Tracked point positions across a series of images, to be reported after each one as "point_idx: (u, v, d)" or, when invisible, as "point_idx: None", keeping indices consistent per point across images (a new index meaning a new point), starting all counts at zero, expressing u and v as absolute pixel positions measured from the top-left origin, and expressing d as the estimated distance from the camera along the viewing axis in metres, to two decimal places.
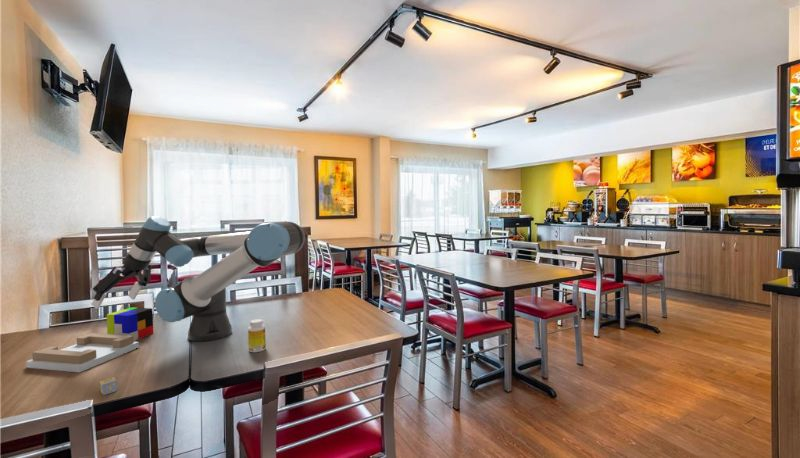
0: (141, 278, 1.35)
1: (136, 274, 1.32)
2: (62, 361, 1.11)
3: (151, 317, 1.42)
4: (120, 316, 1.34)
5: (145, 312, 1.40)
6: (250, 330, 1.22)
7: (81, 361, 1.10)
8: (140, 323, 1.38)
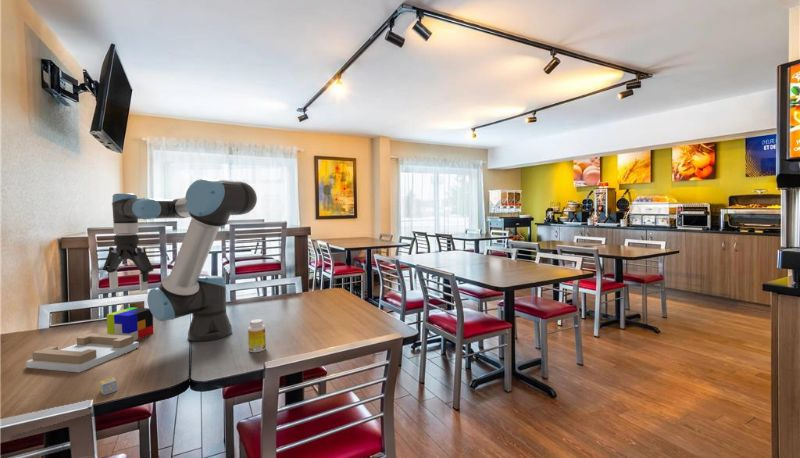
0: (135, 263, 1.36)
1: None
2: (62, 361, 1.11)
3: (151, 317, 1.42)
4: (120, 316, 1.34)
5: (145, 312, 1.40)
6: (250, 330, 1.22)
7: (81, 361, 1.10)
8: (140, 323, 1.38)
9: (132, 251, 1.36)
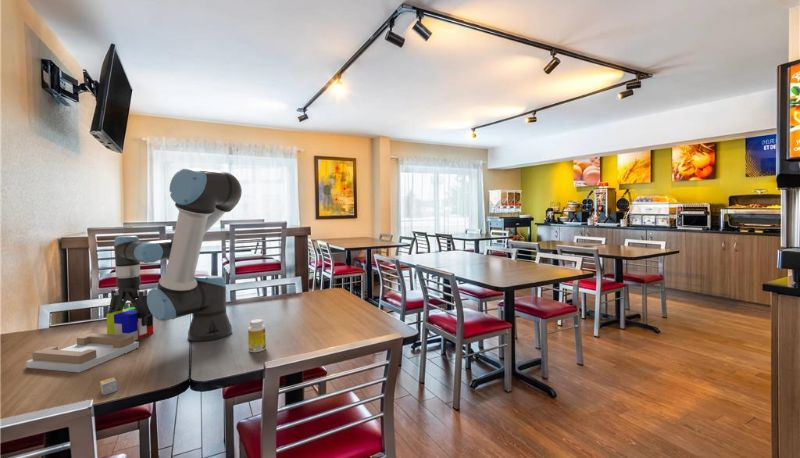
0: (135, 306, 1.37)
1: None
2: (62, 361, 1.11)
3: (151, 317, 1.42)
4: (120, 315, 1.34)
5: None
6: (250, 330, 1.22)
7: (81, 361, 1.10)
8: None
9: (134, 293, 1.37)
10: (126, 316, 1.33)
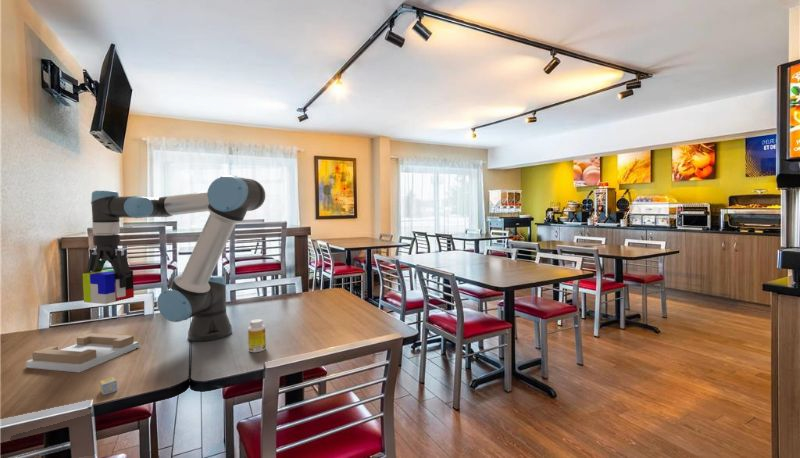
0: (113, 266, 1.27)
1: None
2: (62, 361, 1.11)
3: (131, 279, 1.33)
4: (96, 275, 1.24)
5: None
6: (250, 330, 1.22)
7: (81, 361, 1.10)
8: None
9: (112, 252, 1.27)
10: (102, 276, 1.23)
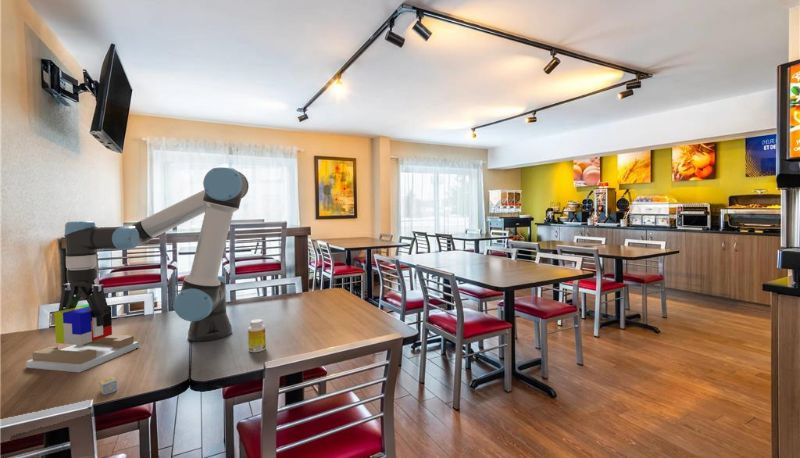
0: (89, 303, 1.17)
1: None
2: (62, 361, 1.11)
3: (109, 316, 1.23)
4: (69, 314, 1.14)
5: None
6: (250, 330, 1.22)
7: (81, 361, 1.10)
8: None
9: (88, 288, 1.17)
10: (77, 315, 1.13)
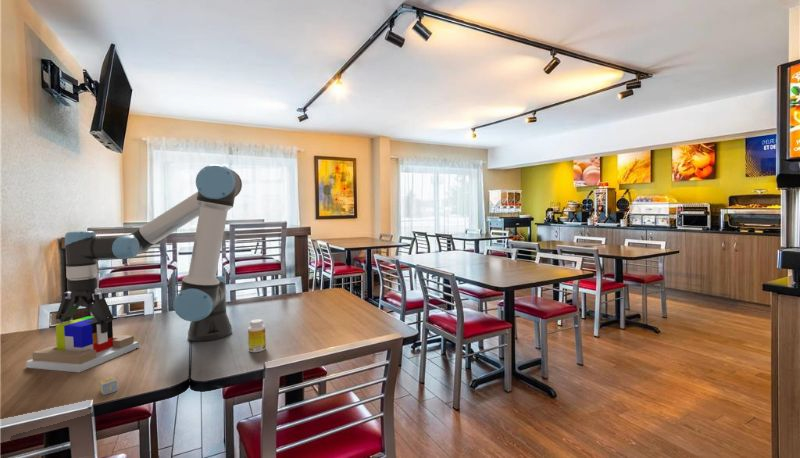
0: (92, 311, 1.17)
1: None
2: (62, 361, 1.11)
3: (110, 328, 1.23)
4: (71, 327, 1.14)
5: None
6: (250, 330, 1.22)
7: (81, 361, 1.10)
8: (96, 335, 1.18)
9: (88, 298, 1.17)
10: (78, 328, 1.14)
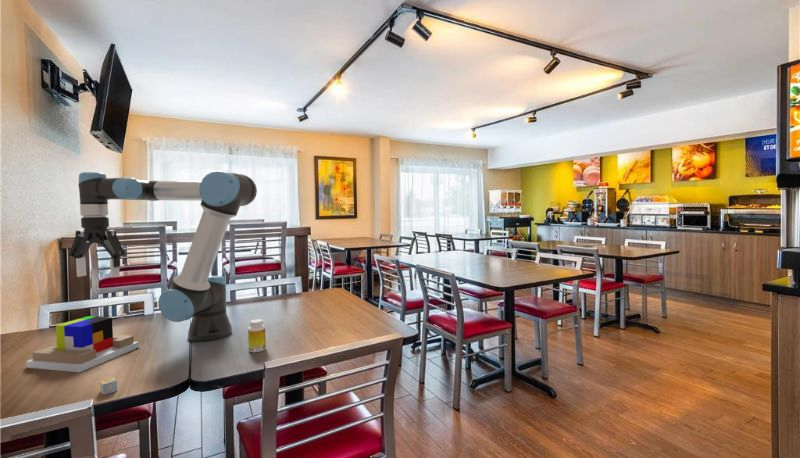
0: (105, 247, 1.26)
1: None
2: (62, 361, 1.11)
3: (110, 328, 1.23)
4: (71, 327, 1.14)
5: (103, 322, 1.20)
6: (250, 330, 1.22)
7: (81, 361, 1.10)
8: (96, 335, 1.18)
9: (101, 234, 1.26)
10: (78, 328, 1.14)
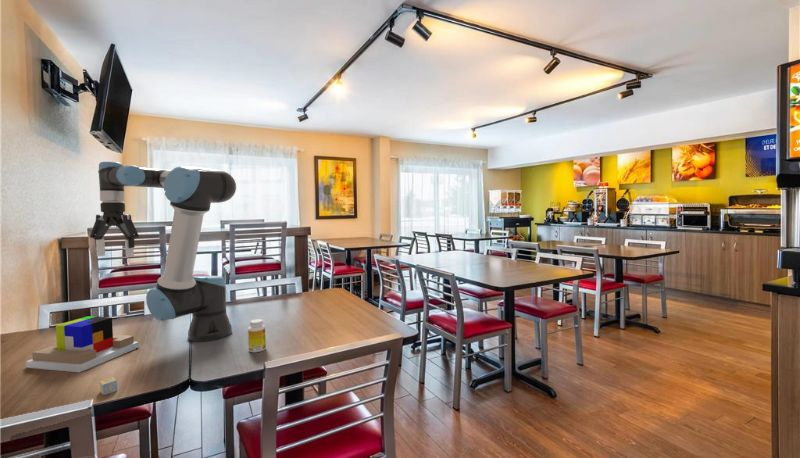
0: (121, 229, 1.40)
1: None
2: (62, 361, 1.11)
3: (110, 328, 1.23)
4: (71, 327, 1.14)
5: (103, 322, 1.20)
6: (250, 330, 1.22)
7: (81, 361, 1.10)
8: (96, 335, 1.18)
9: (118, 218, 1.40)
10: (78, 328, 1.14)
